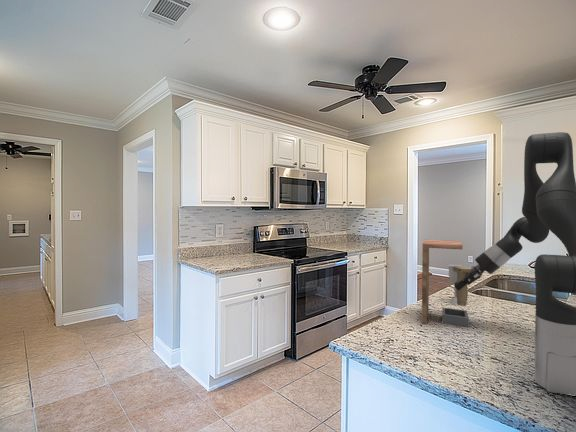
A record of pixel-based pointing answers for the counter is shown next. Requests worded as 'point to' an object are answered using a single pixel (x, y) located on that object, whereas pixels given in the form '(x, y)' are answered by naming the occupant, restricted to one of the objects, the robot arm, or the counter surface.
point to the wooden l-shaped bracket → (425, 269)
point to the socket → (455, 317)
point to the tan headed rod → (463, 292)
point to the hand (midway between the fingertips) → (456, 287)
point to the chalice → (453, 281)
